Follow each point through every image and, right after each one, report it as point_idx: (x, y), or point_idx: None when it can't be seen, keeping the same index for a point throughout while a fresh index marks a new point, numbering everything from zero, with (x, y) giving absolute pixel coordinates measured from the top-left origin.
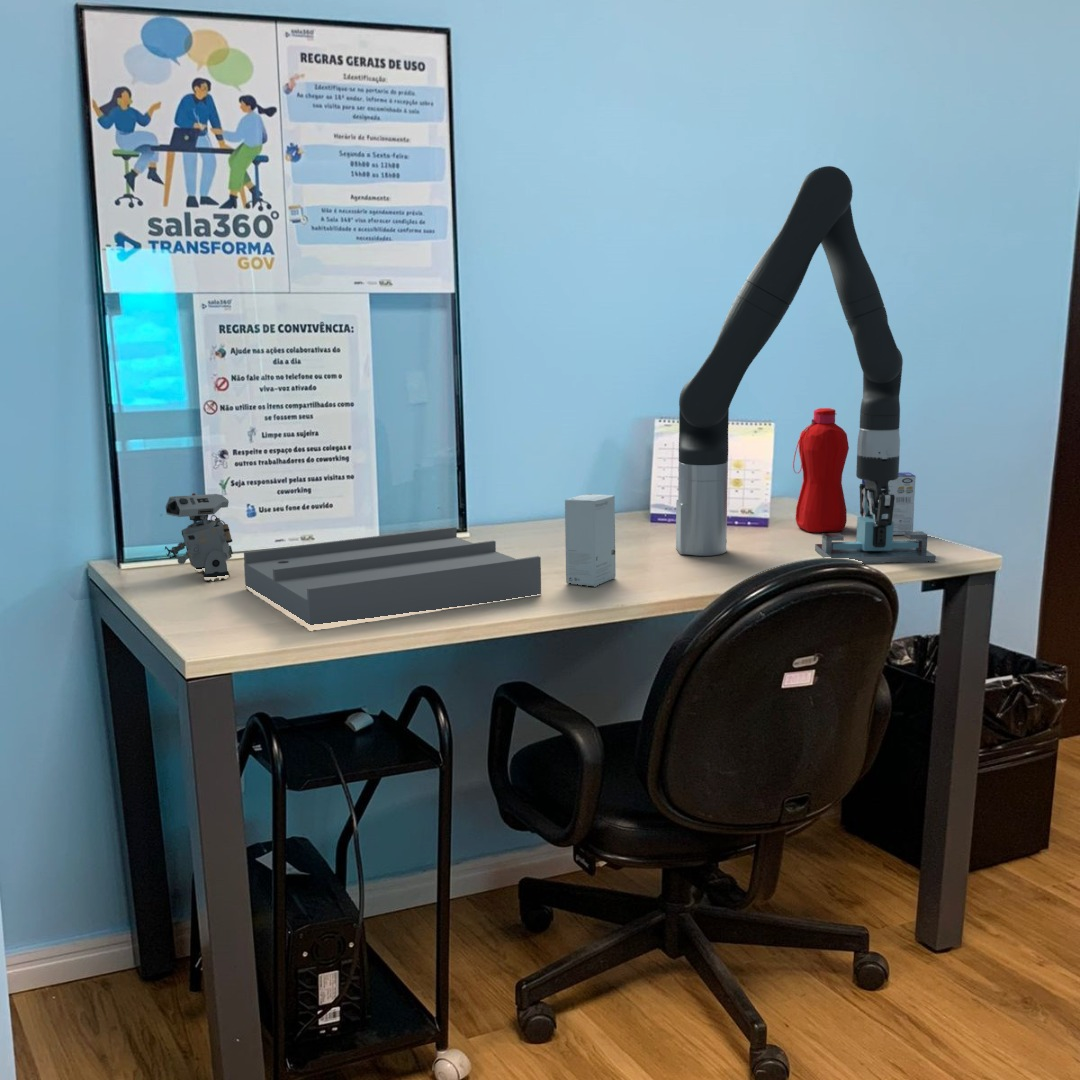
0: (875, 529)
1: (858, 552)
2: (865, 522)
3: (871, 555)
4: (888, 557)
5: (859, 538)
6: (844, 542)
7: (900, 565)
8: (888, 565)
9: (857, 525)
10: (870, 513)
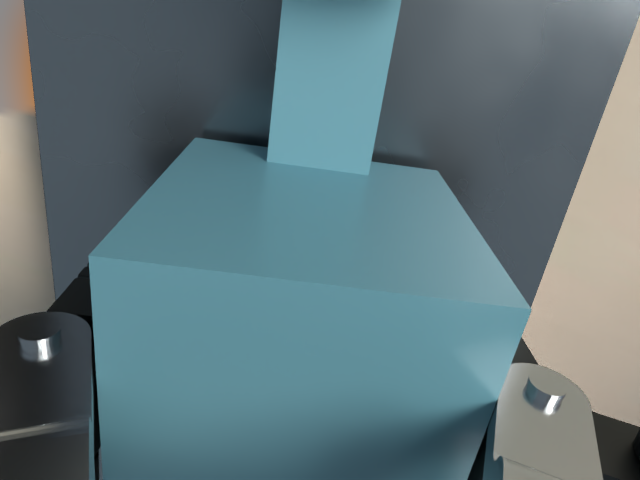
0: (88, 312)
1: (226, 94)
2: (91, 253)
3: (93, 149)
4: (55, 252)
5: (355, 184)
6: (360, 10)
7: (6, 278)
8: (3, 207)
9: (470, 245)
10: (61, 422)
